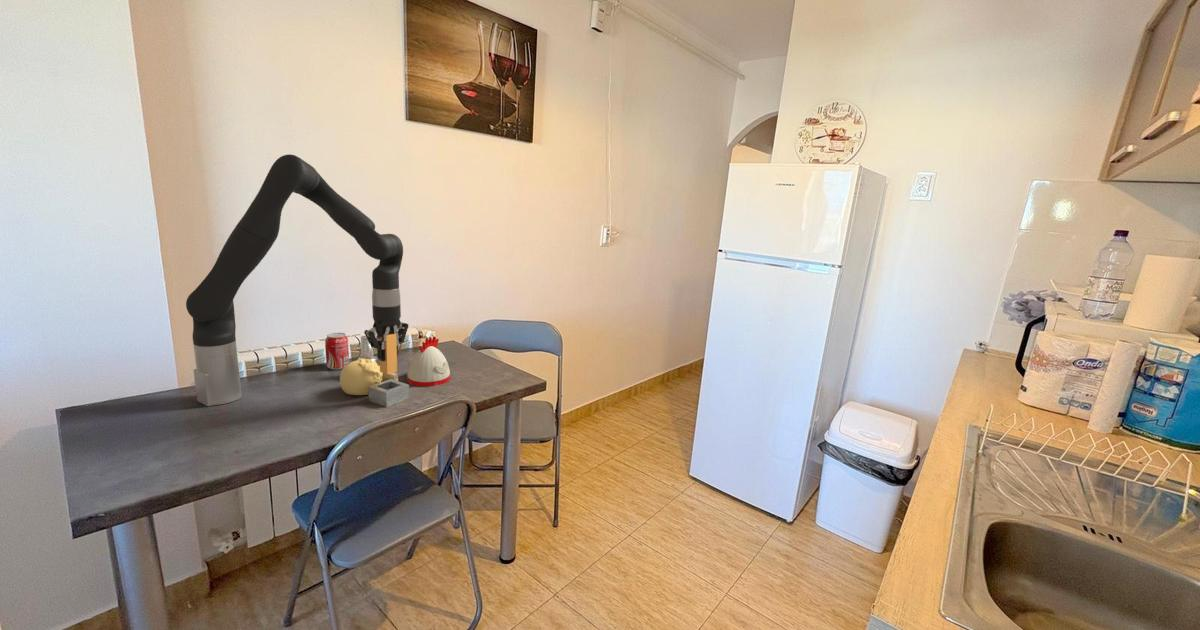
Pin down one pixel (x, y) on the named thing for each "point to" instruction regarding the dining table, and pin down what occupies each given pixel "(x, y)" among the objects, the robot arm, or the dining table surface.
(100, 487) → the dining table surface
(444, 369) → the kitchen timer
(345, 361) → the soda can
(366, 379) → the sculpture
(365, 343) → the ringlock post
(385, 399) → the grey open-top box
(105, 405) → the dining table surface
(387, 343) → the orange rectangular block
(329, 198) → the robot arm
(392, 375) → the brown wooden plank
